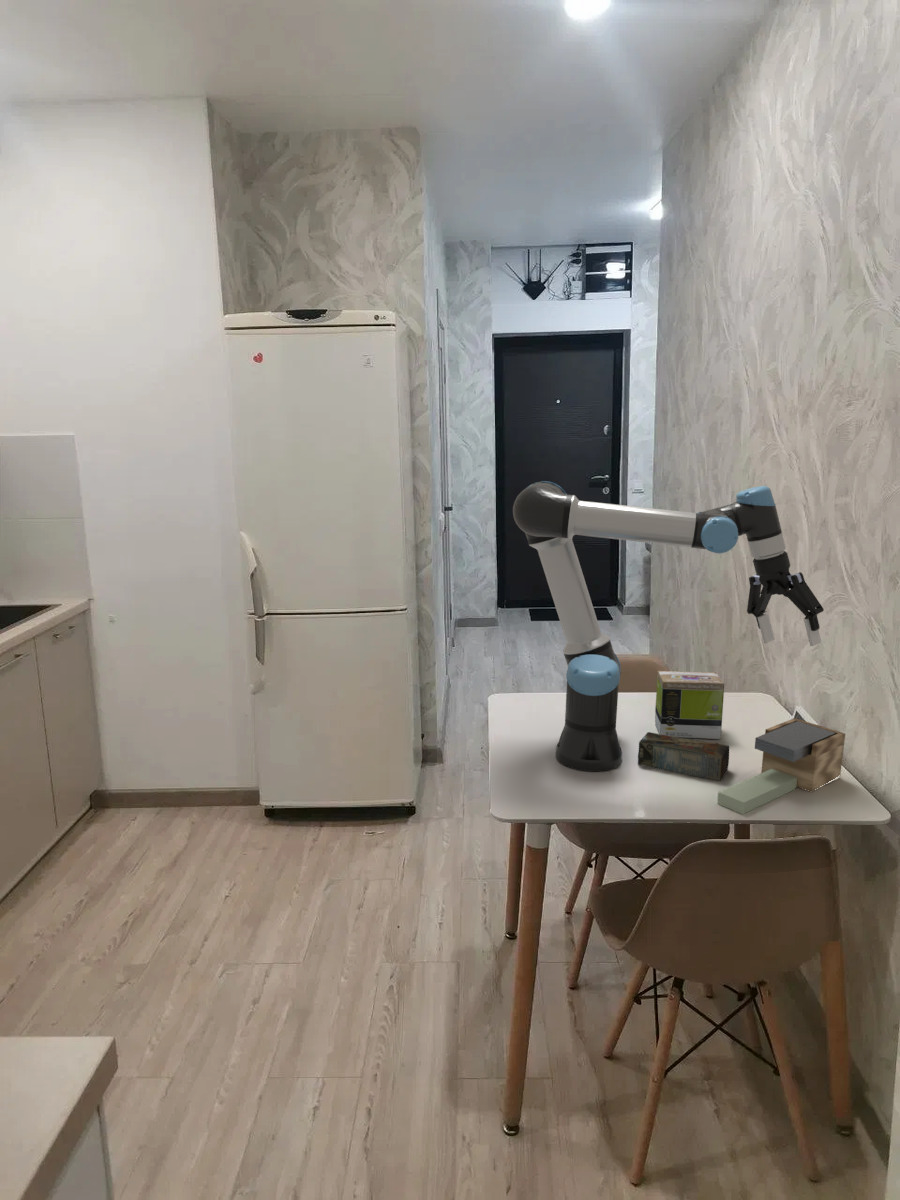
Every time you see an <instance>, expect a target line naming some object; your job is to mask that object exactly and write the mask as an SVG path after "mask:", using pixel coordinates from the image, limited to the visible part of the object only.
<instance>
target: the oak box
mask: <svg viewBox="0 0 900 1200" xmlns="http://www.w3.org/2000/svg"><path fill="white" fill-rule="evenodd" d="M797 721H799V722H802V723H805V724H808V725H812V726H815V727H818V728H821V729H825V730H828V731H831V732H835V733H836V735H834V736H831V737H829V738H827V739H824V740H822V741H820V742H817V743H815V744H813V745H812V753H811V754H810V755H808V756H805V757H803V758H801V759H799V760H796V761H794V762H792V761H789V760H786V759H783V758H780V757H777V756H775V755H772V754H769V753H766V752H763V751H762V752H763V753H762V761H761V762H762V763H761V770H760V771H761V773H763V772H765V771H768V770H770V769H774V770H777V771H780V772H783V773H786V774H788V775H791V776H794V777H797V785H796V786H797V787H796V788H799V787H800V789H802V788H803V789H802V790H804V789H806V790H805V791H807V790H809V791H808V792H810V791H813V790H815V789H817V788H819V787H820V786H822V785H824V784H826V783H828V782H829V781H831V780H833V779H835V778H836V777H838V776H839V775H840V776H841V772H842V763H843V756H844V749H845V741H846V733H844V732H841V731H838V730H834V729H832V728H828V727H825V726H821V725H818V724H815V723H813V722H812V723H811V722H808V721H805V720H802V719H799V718H795V717H794V718H792V719H788V720H786V721H784V722H782V723H779V724H775V725H774V726H771V727H768V728H766V729H765V731H764V734H766V733H769V732H771V731H774V730H776V729H779V728H782V727H784V726H787V725H789V724H792V723H794V722H797ZM761 773H760V774H761ZM819 789H820V788H819ZM817 790H818V789H817ZM815 791H816V790H815ZM813 792H814V791H813Z"/></svg>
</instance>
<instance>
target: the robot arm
mask: <svg viewBox="0 0 900 1200" xmlns="http://www.w3.org/2000/svg"><path fill="white" fill-rule="evenodd" d="M515 498H516V499H515V500H514V502H513V506H512V515H513V519H514V522H515V524H516V525H517V526H518V528H519V529H520V530H521V531H522V532H523V533H524V534H525V536H526V540H527V543H528V546H529V547H531V548H533V549H536V551H537V552H538V557H539V559H540V563H541V565H542V566H541V567H542V568H543V572H544V575H545V578H546V582H547V585H548V588H549V591H550V593H551V594H550V595H551V597H552V600H553V603H554V606H555V611H556V613H557V615H558V616H557V617H558V619H559V622H560V626H561V628H562V632H563V635H564V638H565V642H566V645H565V647H564V649H563V656H564V658H565V659H564V660H565V661H566V665H567V670H566V675H565V676H566V677H565V678H566V690H565V691H566V694H565V711H564V712H565V714H564V715H565V716H564V717H565V719H564V725H563V728H562V732H561V734H560V737H559V740H558V741H557V745H556V747H555V758H556V760H557V761H558V762H559V763H560V764H562V765H563V766H566V767H567V768H571V769H574V770H580V771H585V772H602V771H603V772H605V771H610V770H614V769H616V768H617V767H619V766H620V765H621V764H622V761H623V749H622V747H621V746H620V741H619V737H618V733H617V718H618V717H617V715H618V703H619V702H618V701H619V700H618V699H619V698H618V697H619V686H620V685H619V684H620V680H621V679H620V678H621V673H622V672H621V663H620V660H619V658H618V656H617V654H616V653H615V651H614V649H613V645H612V642H611V639H610V636H608V635H606V634H604V633H602V631H601V628H600V624H599V621H598V619H597V615H596V612H595V608H594V605H593V603H592V599H591V596H590V593H589V590H588V586H587V584H586V580H585V576H584V574H583V570H582V567H581V565H580V564H581V563H580V560H579V557H578V554H577V551H576V547H575V545H574V541H573V537H574V536H576V535H577V536H585V537H593V538H603V539H612V540H621V541H629V542H639V543H647V544H648V543H649V544H655V545H656V544H657V545H665V546H666V545H668V546H674V547H675V546H676V547H683V548H684V547H685V548H693V549H700V550H706V551H708V552H711V553H713V554H714V553H715V554H725V553H727V552H729V551H731V550H732V549H733V548H734V547H735V546H736V545H737V542H738V540H739V537H740V536H744V535H746V540H747V544H748V547H749V552H750V556H751V558H753V559H752V564H753V567H754V571H755V573H756V574H754V575H751V576H750V577H748V579H749V581H748V582H749V591H748V592H749V593H748V600H747V609H746V612H747V614H748V615H753V616H754V617H755V620H756V622H757V623H756V624H757V627H758V629H760V633H761V636H762V640H763V644H768V643H770V642H773V641H774V640H775V637H774V635H775V634H774V632H773V628H772V624H771V621H770V617H769V613H767V611H766V609H767V608H768V606H769V602H770V600H771V598H772V595H780V596H781V595H783V597H786V598H787V599H788V600H790V602H791V603H793V605H794V606H795V607H796V608H797V609H798V610H799V611H800V612H801V613H802V614H803V615H804V616H805V617H803V618H802V619H803V623H804V627H805V629H806V630H805V631H806V634H807V638H808V642H809V647H814V646H816V645H818V644H820V643H822V638H821V635H820V632H819V630H820V622H819V619H818V615H819V614H820V613H823V612H824V607H823V606H822V604H821V603H820V602H819V600H818V598H817V597H816V596H815V594H814V591H812V589H811V588H810V587H809V585H808V584H807V582H806V580H805V577H804V574H803V573H802V572H801V571H799V572H798V573H795V574H792V573H790V567H791V561H790V558H789V555H788V554H789V553H788V552H787V551H786V548H787V547H786V544H785V540H784V535H783V532H782V527H781V523H780V518H779V514H778V510H777V506H776V505H777V504H776V503H775V500H774V497H773V493H772V490H771V488H770V487H768V486H767V485H759V486H753V487H751V488H746V489H744V490H742V491H741V490H740V491H739V492H737V493H736V500H735V502H732V503H730V504H727V505H723V506H719V507H716V508H712V509H707V510H704V511H698V512H690V511H680V510H679V511H678V510H672V509H671V510H670V509H661V508H653V507H644V506H643V507H641V506H635V505H634V506H633V505H625V504H615V503H605V502H596V501H589V500H588V501H585V500H579V498H578V497H577V496H576V495H575V494H567V493H566V491H565V490H564V489H563V488H562V487H561V486H560V485H558V484H557V483H554V482H551V481H546V480H541V481H538V482H537V481H536V482H534V483H531V484H530V485H528V486H527V487H526V488H524V489H523V490H522V491H521V492H520V493H519V494H518V495H517V496H516V497H515Z"/></svg>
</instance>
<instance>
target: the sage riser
mask: <svg viewBox="0 0 900 1200" xmlns="http://www.w3.org/2000/svg"><path fill="white" fill-rule="evenodd" d="M796 785H797V777H794V776H791V775H788V774H786V773H783V772H780V771H777V770H774V769H770V770H768V771H765V772H763V773H758V774H757V775H754V776H752V777H750V778H747V779H745V780H743V781H741V782H738V783H736V784H734V785H732V786H729V787H727V788H725V789H722V790H720V791H718V793H717V805H721V806H723V807H725V808H727V809H730V810H733V811H735V812H737V813H739V814H742V815H744V814H746V813H748V812H750V811H752V810H754V809H757V808H758V807H760V806H763V805H766V804H767V803H769V802H771V801H773V800H775V799H777V798H779V797H782V796H784V795H787V794H788V793H790V792H792V791H794V790H796V789H797V787H796ZM795 788H796V789H795Z"/></svg>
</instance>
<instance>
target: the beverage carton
mask: <svg viewBox="0 0 900 1200" xmlns="http://www.w3.org/2000/svg"><path fill="white" fill-rule="evenodd" d="M729 763H730V745H725V744H720V743H717V742H707V741H704V740H703V741H701V740H697V739H696V740H695V739H692V738H682V737H673V736H667V735H661V734H659V733H656V732H651V731H650V732H649V731H648V732H647V733H646V734H645V735H644V736H643V737H642V738H641V739H640V740H639V741H638V754H637V765H638V766H642V767H648V768H653V769H657V770H660V771H667V772H672V773H677V774H683V775H688V776H694V777H700V778H703V779H709V780H713V781H718V782H721V781H722V780H723V779H724V776H726V774H727V772H728V770H729Z"/></svg>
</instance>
